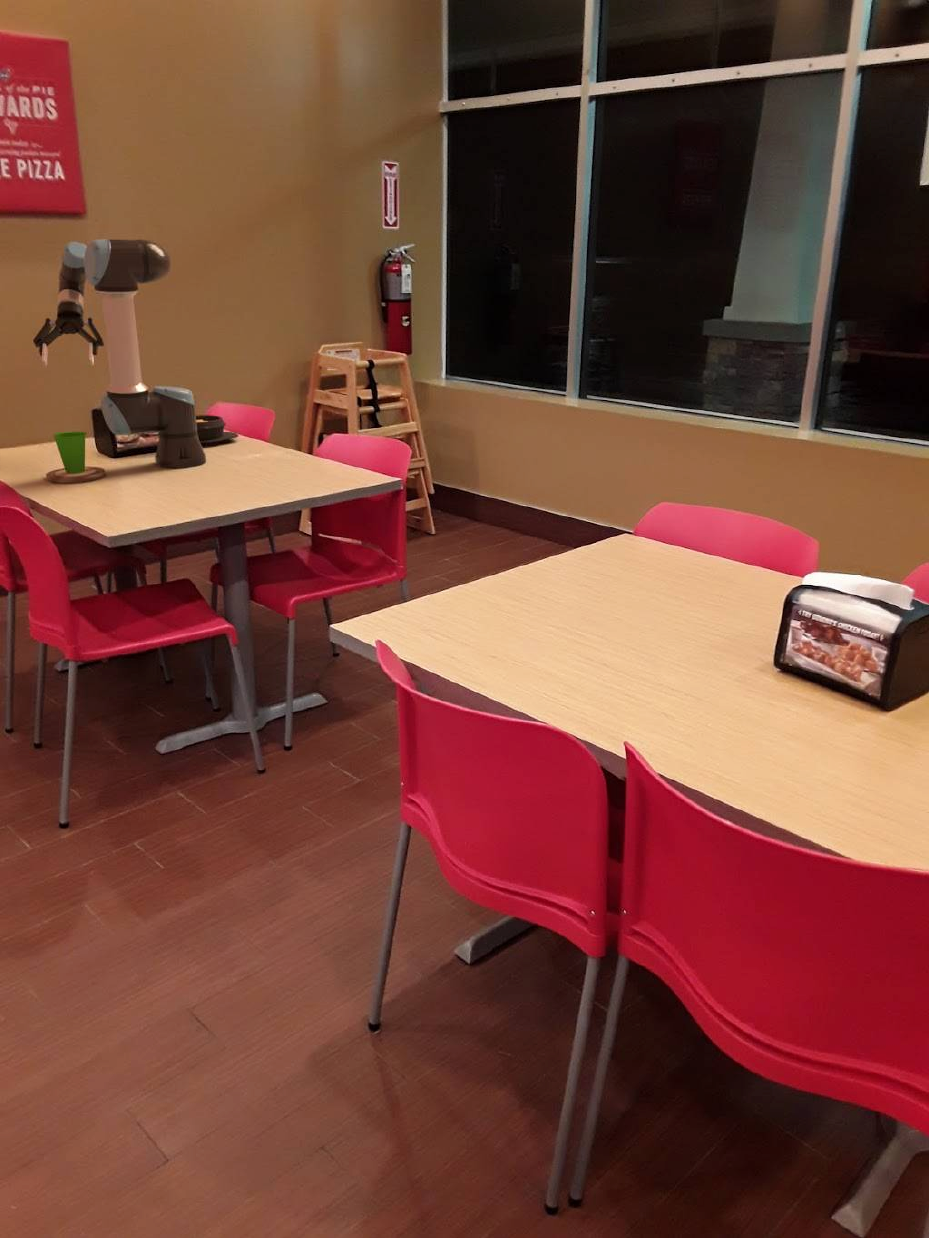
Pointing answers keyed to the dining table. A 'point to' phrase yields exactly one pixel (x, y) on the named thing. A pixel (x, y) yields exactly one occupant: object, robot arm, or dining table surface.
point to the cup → (72, 450)
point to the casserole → (212, 430)
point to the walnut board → (75, 476)
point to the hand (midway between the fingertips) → (67, 363)
